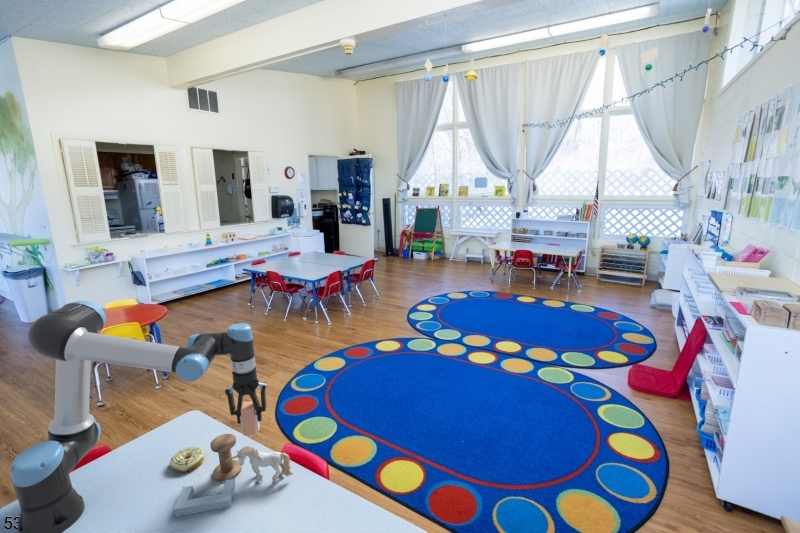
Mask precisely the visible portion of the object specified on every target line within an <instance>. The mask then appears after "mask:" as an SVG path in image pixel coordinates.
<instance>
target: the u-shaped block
mask: <svg viewBox="0 0 800 533" xmlns="http://www.w3.org/2000/svg"><path fill="white" fill-rule="evenodd" d="M223 483H224V484H223V486H222V491H221V493H220V494H215V495H208V496H202V497H196V498H193V495H194V492H195V491H194V486H193V485H187V486H183V487H182V488H181V491H180V493H179V496H178V498H177V500H176V502H175V505H174V507H173V515H174V517H178V516H185V515H190V514H196V513H197V514H198V513H201V512H207V511H213V510H219V509H225V508H230V507H231V505H232V502H233V501H232V500H233V497H234V493H235V489H236V486H237V485H236V478H233V479H230V480H225V482H223Z"/></svg>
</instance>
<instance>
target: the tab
mask: <svg viewBox="0 0 800 533" xmlns="http://www.w3.org/2000/svg"><path fill="white" fill-rule="evenodd" d="M255 412H256V410H255V407H254V405H253V402H252V400H248V401H246V400H245V401H243V402H242V407H241V417H242V425H243V433H242V434H243V436H244V437H245V436H252V435H253V436H254V435H257V432H258V431H256V423H255Z"/></svg>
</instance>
